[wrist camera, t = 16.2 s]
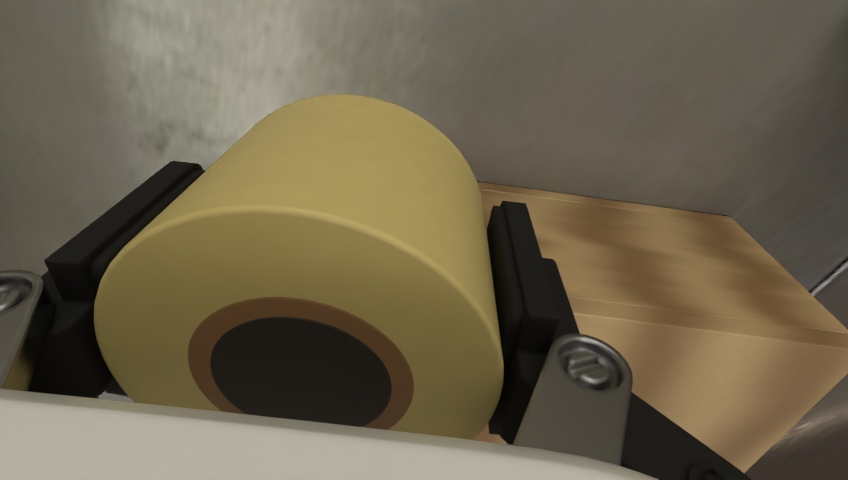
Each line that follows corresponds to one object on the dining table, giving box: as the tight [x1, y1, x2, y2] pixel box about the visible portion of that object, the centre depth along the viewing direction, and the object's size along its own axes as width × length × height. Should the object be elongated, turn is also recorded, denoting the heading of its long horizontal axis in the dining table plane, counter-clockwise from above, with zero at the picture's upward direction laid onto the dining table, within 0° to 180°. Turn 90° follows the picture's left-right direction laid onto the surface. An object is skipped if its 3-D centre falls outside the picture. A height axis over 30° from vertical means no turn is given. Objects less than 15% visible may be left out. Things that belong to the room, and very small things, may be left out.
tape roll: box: [94, 94, 504, 440], centre depth 9 cm, size 7×7×5 cm
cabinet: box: [474, 182, 848, 473], centre depth 24 cm, size 16×14×10 cm
